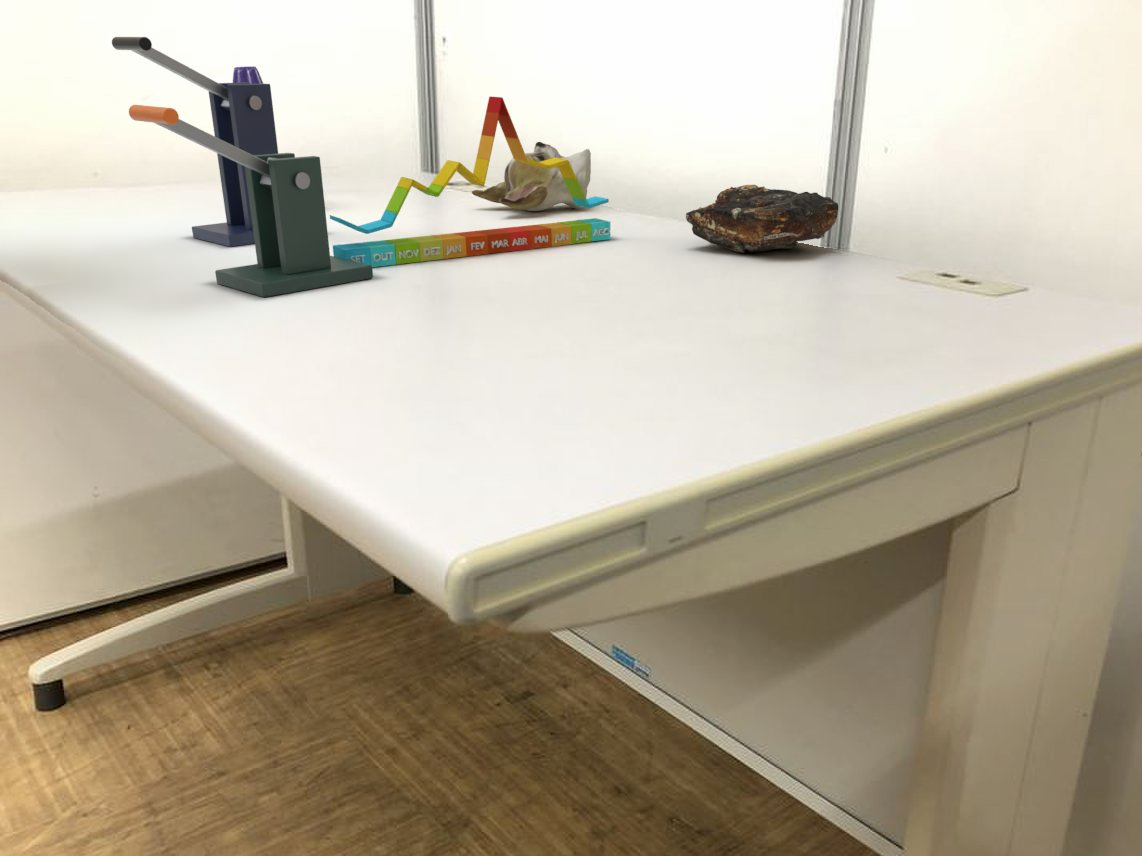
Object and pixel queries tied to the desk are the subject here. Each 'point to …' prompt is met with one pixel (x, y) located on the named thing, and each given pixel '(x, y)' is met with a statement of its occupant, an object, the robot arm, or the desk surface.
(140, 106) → the front lever
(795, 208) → the fossil rock
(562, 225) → the chart
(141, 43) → the back lever
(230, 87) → the back bracket
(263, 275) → the front bracket
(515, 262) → the desk surface
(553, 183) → the ceramic sculpture
